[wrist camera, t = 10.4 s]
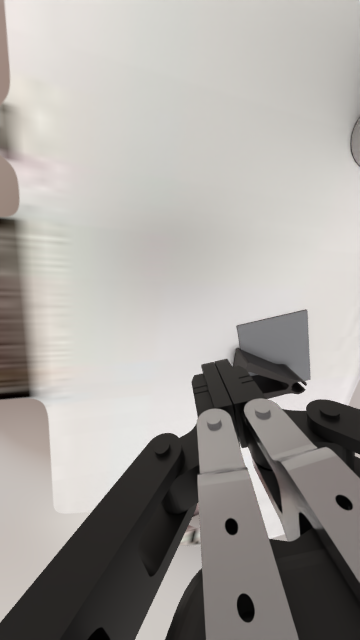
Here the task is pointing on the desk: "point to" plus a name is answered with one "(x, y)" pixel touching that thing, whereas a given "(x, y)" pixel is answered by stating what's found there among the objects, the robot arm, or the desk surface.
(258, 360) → the phone stand
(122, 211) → the desk surface
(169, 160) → the desk surface
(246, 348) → the mat
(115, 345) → the desk surface
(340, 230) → the desk surface
